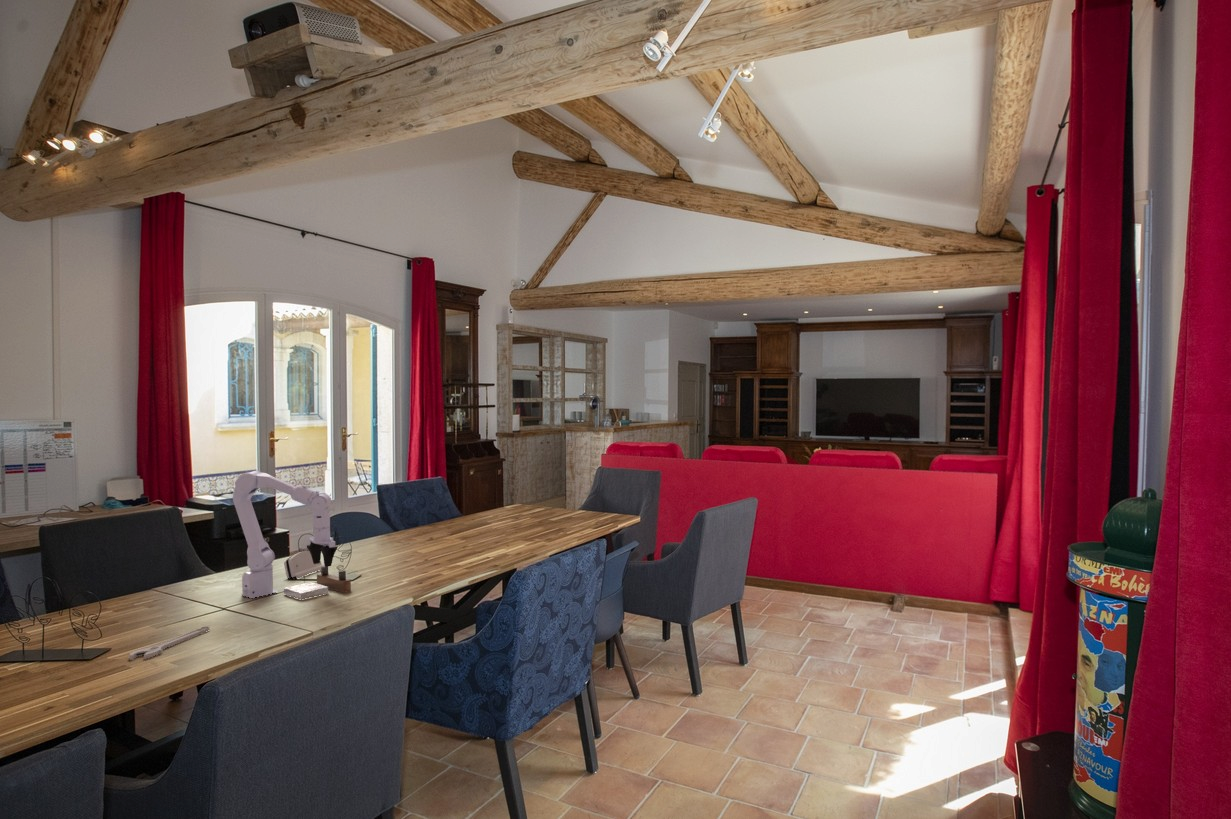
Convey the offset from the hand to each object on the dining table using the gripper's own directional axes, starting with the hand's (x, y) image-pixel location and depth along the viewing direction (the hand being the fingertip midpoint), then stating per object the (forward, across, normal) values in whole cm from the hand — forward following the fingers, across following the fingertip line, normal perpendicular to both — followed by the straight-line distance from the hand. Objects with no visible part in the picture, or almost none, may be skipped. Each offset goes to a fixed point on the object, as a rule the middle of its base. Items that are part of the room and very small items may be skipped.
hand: (322, 564), depth 255 cm
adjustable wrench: (+10, -17, +55) cm, 59 cm away
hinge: (+10, +31, -10) cm, 34 cm away
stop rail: (+10, +1, -5) cm, 11 cm away
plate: (+10, +1, +6) cm, 12 cm away
